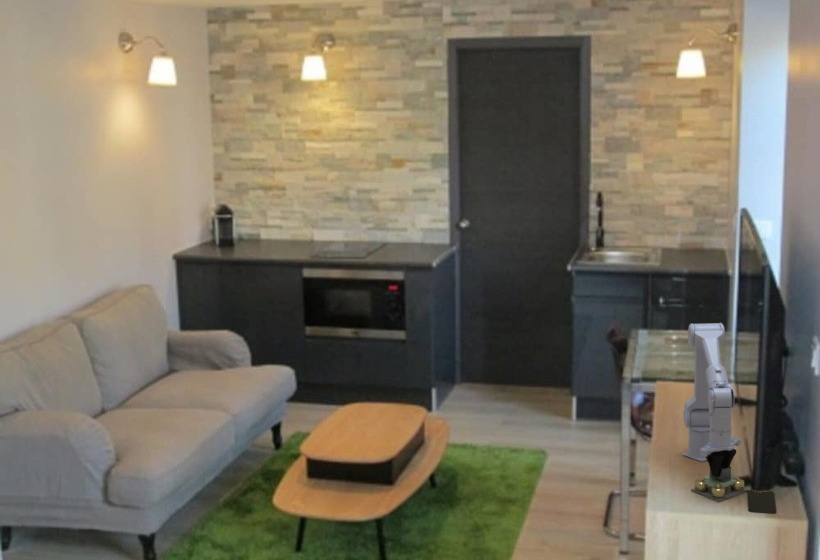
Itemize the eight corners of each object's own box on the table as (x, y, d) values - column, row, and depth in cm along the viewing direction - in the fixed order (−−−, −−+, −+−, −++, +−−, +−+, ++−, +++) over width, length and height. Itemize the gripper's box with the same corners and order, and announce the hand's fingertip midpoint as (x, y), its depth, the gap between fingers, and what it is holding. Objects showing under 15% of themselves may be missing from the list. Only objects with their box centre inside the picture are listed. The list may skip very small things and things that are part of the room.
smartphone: (746, 491, 310) (747, 513, 295) (747, 489, 309) (748, 510, 295) (774, 493, 308) (776, 515, 293) (774, 490, 307) (776, 512, 293)
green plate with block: (721, 474, 314) (721, 458, 313) (740, 481, 308) (741, 465, 307) (699, 481, 309) (699, 465, 308) (719, 489, 304) (719, 473, 303)
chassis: (719, 480, 317) (720, 467, 316) (747, 491, 309) (748, 478, 308) (691, 491, 310) (691, 478, 310) (718, 502, 302) (719, 488, 301)
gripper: (714, 438, 299) (713, 485, 301) (749, 426, 306) (748, 472, 309) (694, 431, 304) (693, 477, 307) (729, 420, 312) (728, 465, 315)
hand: (719, 474), depth 309 cm, fingers closed on green plate with block, 3 cm apart
